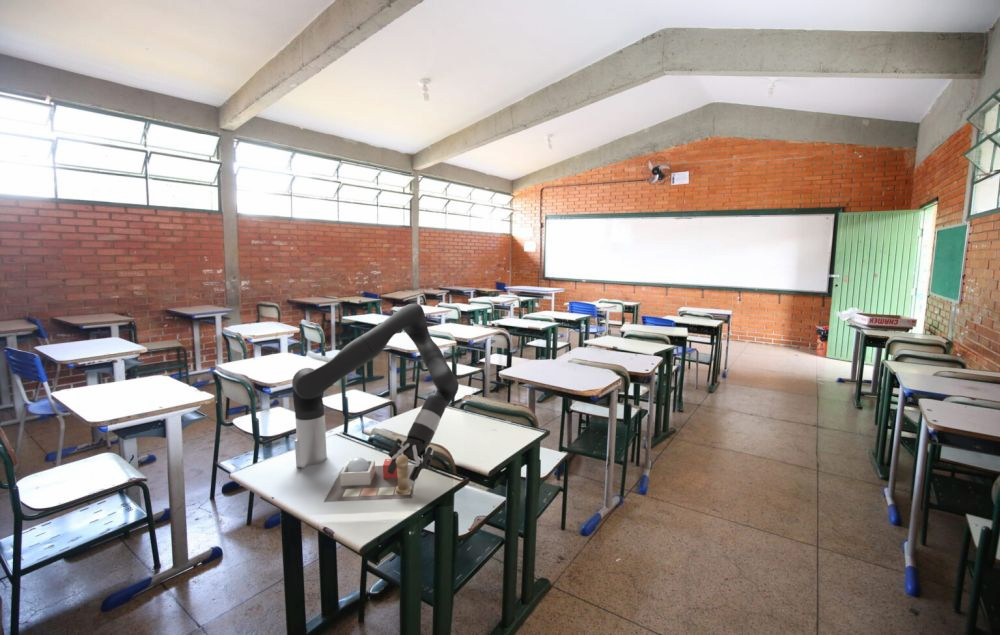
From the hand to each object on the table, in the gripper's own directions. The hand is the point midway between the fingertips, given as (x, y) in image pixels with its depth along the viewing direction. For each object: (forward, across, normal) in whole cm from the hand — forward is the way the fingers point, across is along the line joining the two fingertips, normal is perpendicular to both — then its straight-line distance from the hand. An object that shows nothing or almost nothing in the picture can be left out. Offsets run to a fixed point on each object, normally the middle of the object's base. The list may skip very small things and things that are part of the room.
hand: (400, 476), depth 139 cm
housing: (+4, +18, -3) cm, 18 cm away
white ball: (+4, +18, -3) cm, 18 cm away
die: (-1, +10, -8) cm, 13 cm away
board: (+4, +12, -5) cm, 13 cm away
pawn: (+3, 0, -4) cm, 5 cm away
